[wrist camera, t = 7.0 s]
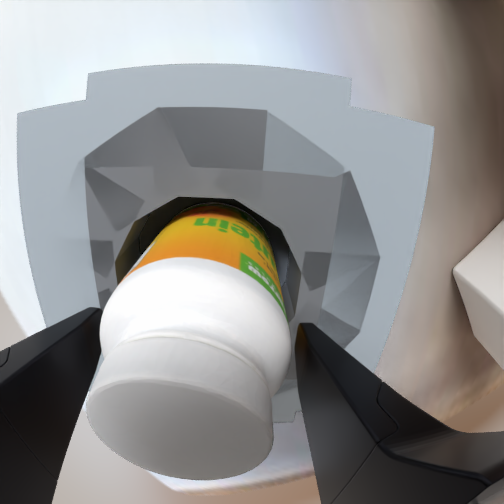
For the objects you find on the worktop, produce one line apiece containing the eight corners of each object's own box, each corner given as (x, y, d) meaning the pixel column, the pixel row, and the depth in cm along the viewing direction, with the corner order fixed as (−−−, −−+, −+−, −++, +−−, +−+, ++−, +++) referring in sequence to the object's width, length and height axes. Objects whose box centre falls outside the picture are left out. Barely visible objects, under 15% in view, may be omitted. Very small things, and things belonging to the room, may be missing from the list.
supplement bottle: (295, 239, 14) (367, 412, 5) (235, 323, 16) (229, 503, 7) (191, 177, 13) (77, 282, 4) (141, 273, 14) (48, 434, 5)
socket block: (400, 105, 11) (436, 101, 9) (341, 382, 17) (353, 417, 15) (56, 93, 11) (19, 89, 8) (90, 365, 17) (74, 397, 14)
